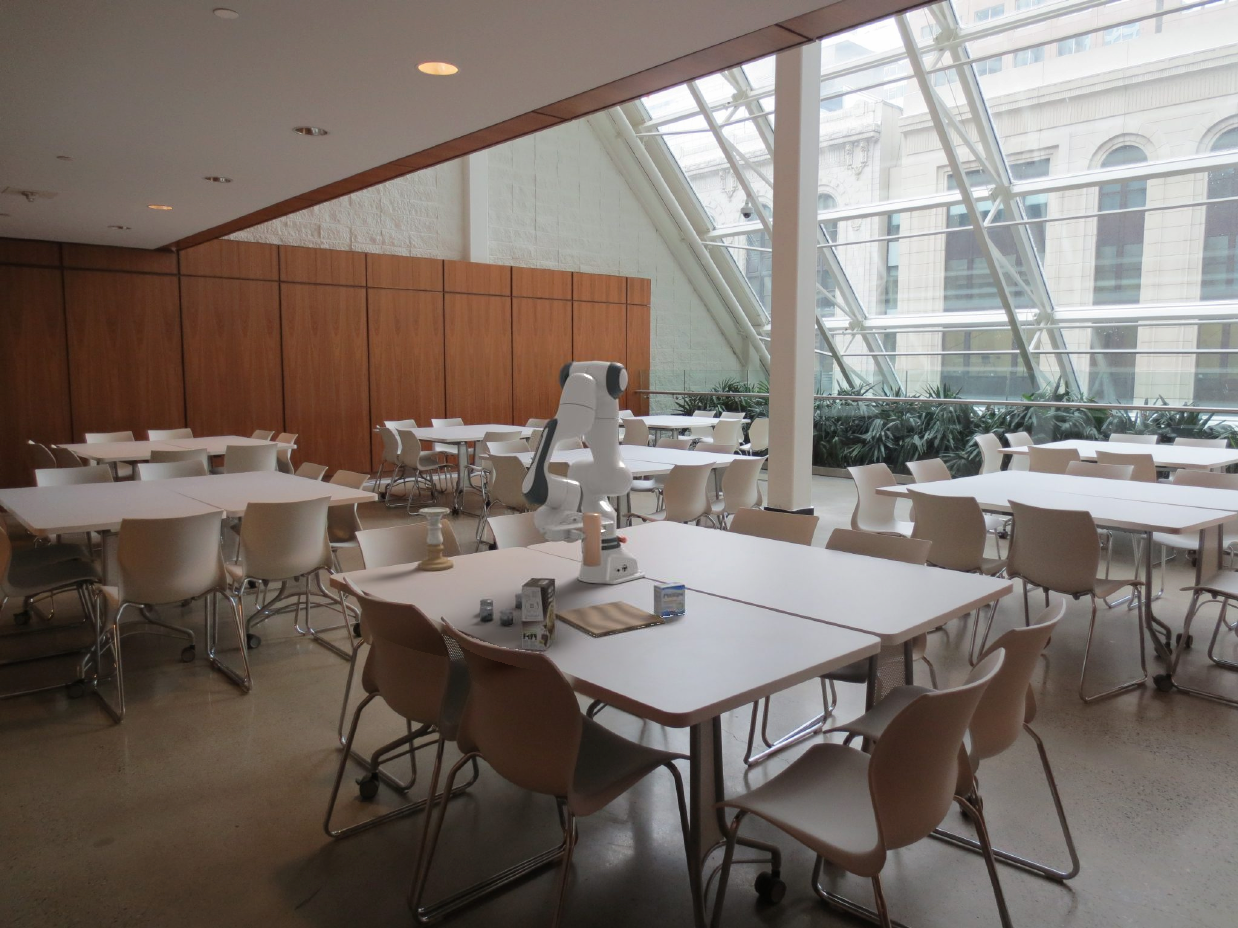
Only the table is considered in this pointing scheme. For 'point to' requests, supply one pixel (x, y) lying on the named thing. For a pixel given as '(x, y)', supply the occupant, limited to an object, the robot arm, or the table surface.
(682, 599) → the medicine box
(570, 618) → the walnut board
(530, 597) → the coffee box
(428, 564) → the candle holder
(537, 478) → the robot arm
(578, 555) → the table surface
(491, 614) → the posts
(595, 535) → the peach rounded cylinder
